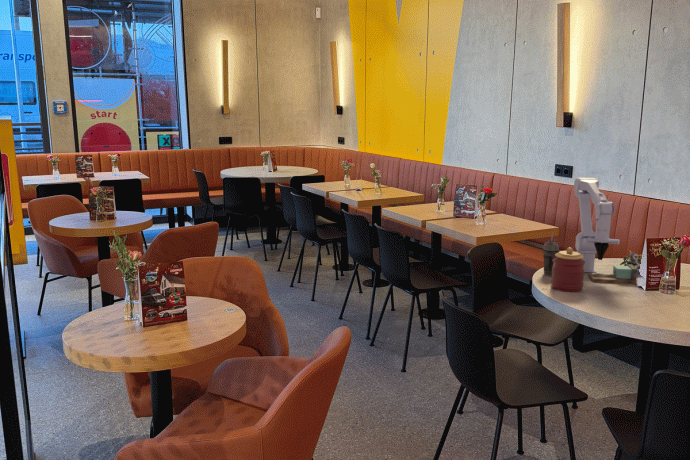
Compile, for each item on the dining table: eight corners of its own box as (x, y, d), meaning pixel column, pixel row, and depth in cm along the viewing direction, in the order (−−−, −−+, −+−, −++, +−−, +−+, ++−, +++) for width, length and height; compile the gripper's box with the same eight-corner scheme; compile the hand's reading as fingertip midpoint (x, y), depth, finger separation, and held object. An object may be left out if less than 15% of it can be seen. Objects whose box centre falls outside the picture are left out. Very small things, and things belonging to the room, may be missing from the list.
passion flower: (638, 284, 278) (641, 268, 270) (614, 276, 285) (616, 259, 276) (647, 267, 284) (650, 251, 275) (624, 260, 290) (626, 243, 281)
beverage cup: (539, 275, 274) (542, 232, 270) (542, 271, 280) (545, 229, 276) (556, 277, 270) (559, 234, 267) (558, 273, 277) (561, 231, 273)
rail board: (593, 282, 263) (594, 267, 262) (587, 276, 272) (589, 262, 271) (636, 284, 260) (638, 269, 259) (630, 277, 270) (631, 263, 268)
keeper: (616, 278, 263) (617, 268, 262) (612, 274, 269) (613, 265, 268) (630, 278, 262) (631, 269, 261) (626, 275, 268) (627, 265, 267)
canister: (581, 284, 259) (584, 245, 255) (584, 293, 247) (588, 252, 243) (549, 282, 262) (552, 243, 259) (551, 291, 250) (554, 250, 246)
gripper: (587, 230, 259) (584, 260, 262) (622, 231, 257) (619, 262, 259) (583, 227, 266) (581, 257, 268) (618, 228, 263) (615, 258, 266)
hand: (599, 259), depth 264 cm, fingers closed
